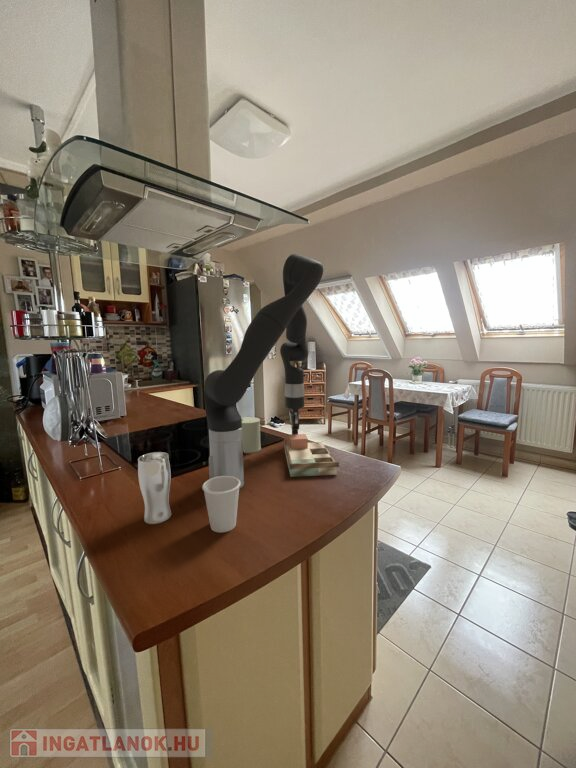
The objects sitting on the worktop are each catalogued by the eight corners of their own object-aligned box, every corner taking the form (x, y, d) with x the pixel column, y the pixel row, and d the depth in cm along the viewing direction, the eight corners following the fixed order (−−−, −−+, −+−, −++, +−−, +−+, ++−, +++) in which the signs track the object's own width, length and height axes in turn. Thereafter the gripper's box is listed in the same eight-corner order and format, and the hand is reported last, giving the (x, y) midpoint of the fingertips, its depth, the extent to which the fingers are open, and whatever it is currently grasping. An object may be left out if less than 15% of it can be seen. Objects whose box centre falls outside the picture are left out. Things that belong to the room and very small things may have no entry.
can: (235, 446, 125) (234, 416, 123) (258, 444, 127) (257, 414, 126) (238, 454, 116) (237, 422, 114) (263, 451, 119) (262, 420, 117)
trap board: (290, 476, 97) (290, 464, 96) (284, 449, 120) (284, 439, 120) (338, 474, 98) (338, 462, 97) (323, 448, 122) (323, 438, 121)
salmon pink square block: (291, 448, 114) (291, 439, 114) (289, 443, 120) (289, 434, 120) (307, 448, 115) (307, 438, 114) (305, 442, 121) (305, 433, 120)
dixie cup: (201, 520, 74) (199, 479, 73) (236, 511, 77) (235, 473, 76) (208, 540, 67) (205, 495, 65) (246, 530, 70) (245, 487, 68)
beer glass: (163, 506, 80) (159, 449, 78) (179, 515, 76) (175, 455, 74) (136, 518, 75) (131, 457, 73) (151, 529, 71) (146, 465, 69)
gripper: (306, 397, 115) (307, 443, 117) (302, 391, 128) (302, 433, 130) (286, 398, 114) (286, 444, 117) (283, 392, 127) (284, 434, 130)
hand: (294, 438), depth 124 cm, fingers closed
